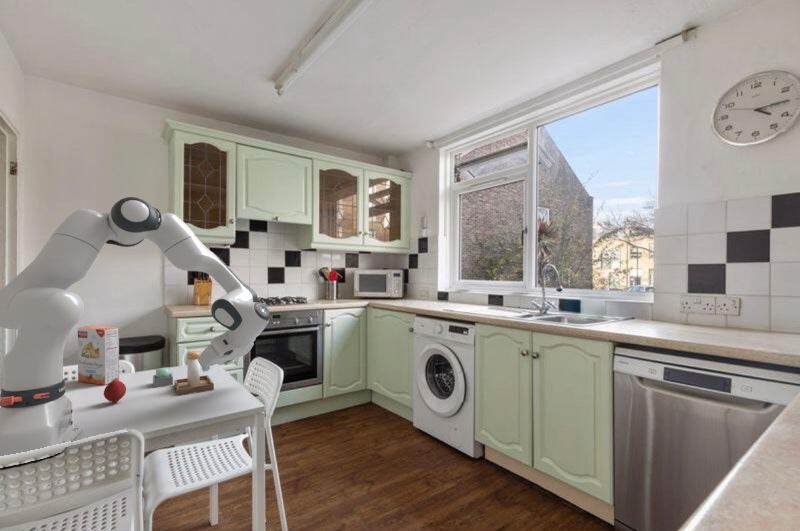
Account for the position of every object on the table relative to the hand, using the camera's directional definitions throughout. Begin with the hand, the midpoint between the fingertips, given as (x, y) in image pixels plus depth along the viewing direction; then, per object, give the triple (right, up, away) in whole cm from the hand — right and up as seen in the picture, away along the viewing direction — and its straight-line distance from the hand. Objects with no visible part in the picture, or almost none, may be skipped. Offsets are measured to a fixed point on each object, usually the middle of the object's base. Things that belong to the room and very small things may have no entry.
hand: (215, 366), depth 137 cm
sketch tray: (-10, -9, +3) cm, 13 cm away
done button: (-23, -7, +7) cm, 25 cm away
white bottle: (-10, -8, +3) cm, 13 cm away
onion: (-27, -9, -12) cm, 31 cm away
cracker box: (-49, -9, +10) cm, 51 cm away
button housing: (-23, -8, +7) cm, 26 cm away
